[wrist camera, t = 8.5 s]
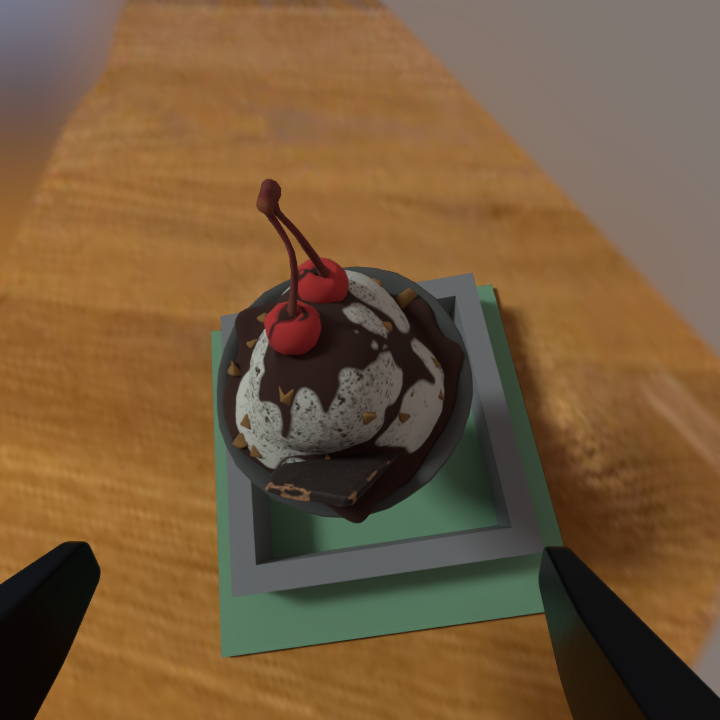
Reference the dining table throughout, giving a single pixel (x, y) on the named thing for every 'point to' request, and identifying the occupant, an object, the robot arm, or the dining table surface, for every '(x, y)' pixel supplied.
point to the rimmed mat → (396, 523)
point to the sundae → (341, 385)
